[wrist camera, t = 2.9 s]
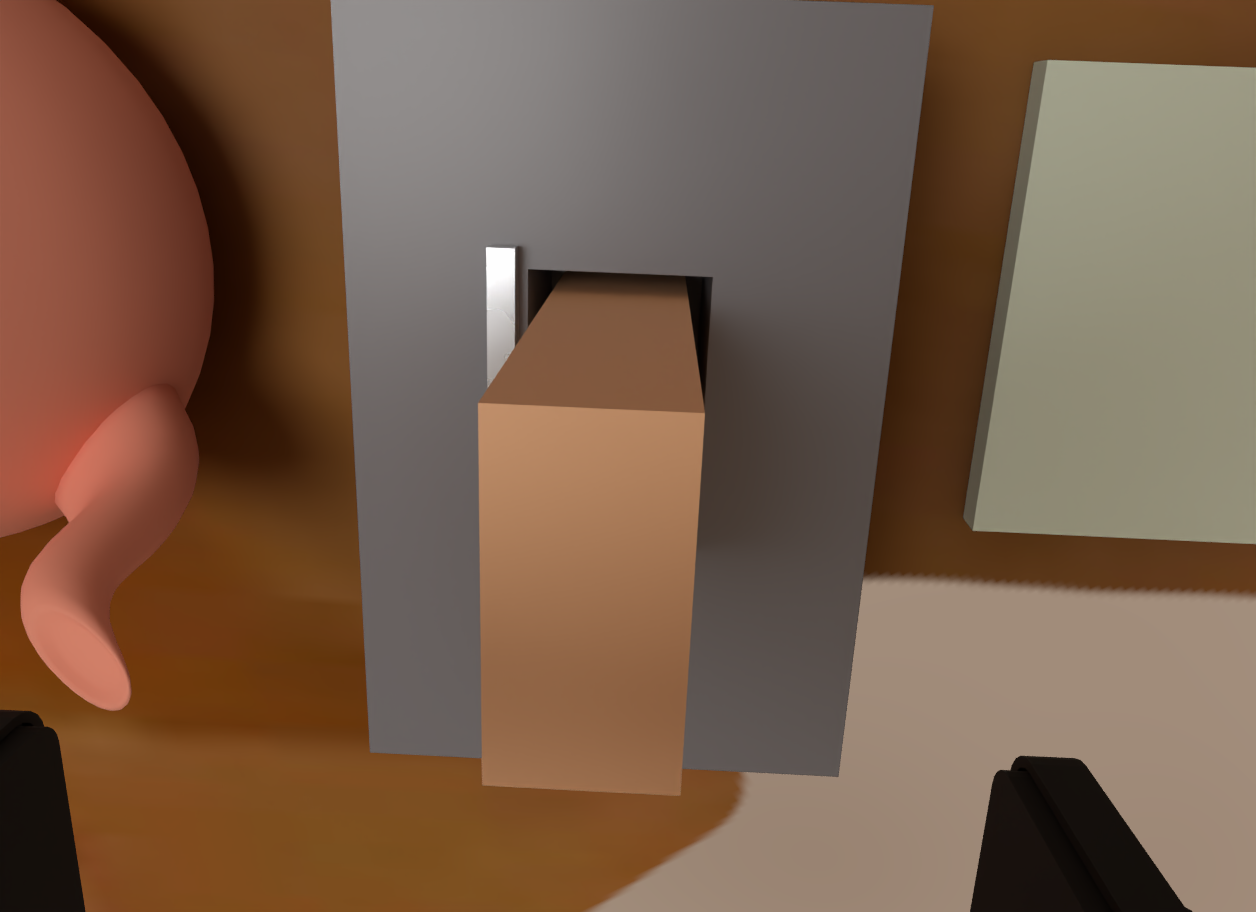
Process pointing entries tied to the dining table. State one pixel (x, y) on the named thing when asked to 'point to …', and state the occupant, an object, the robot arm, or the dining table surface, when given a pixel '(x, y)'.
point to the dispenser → (638, 244)
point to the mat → (1126, 311)
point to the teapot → (92, 332)
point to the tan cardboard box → (591, 539)
